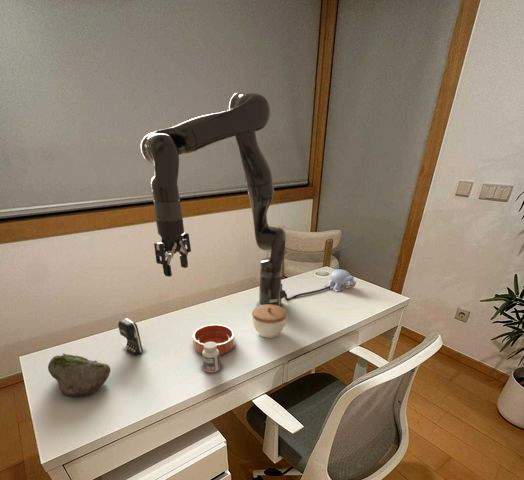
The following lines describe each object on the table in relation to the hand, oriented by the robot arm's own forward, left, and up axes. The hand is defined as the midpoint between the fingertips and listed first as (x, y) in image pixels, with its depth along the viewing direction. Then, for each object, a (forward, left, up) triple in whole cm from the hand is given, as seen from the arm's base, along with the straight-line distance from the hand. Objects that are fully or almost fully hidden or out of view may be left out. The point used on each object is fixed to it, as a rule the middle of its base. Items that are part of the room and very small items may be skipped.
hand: (176, 271), depth 101 cm
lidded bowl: (-26, +17, -27) cm, 41 cm away
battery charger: (+16, -8, -27) cm, 32 cm away
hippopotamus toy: (-84, +13, -27) cm, 89 cm away
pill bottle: (+3, +19, -27) cm, 33 cm away
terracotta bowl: (-6, +9, -26) cm, 29 cm away
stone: (+35, -3, -27) cm, 44 cm away
